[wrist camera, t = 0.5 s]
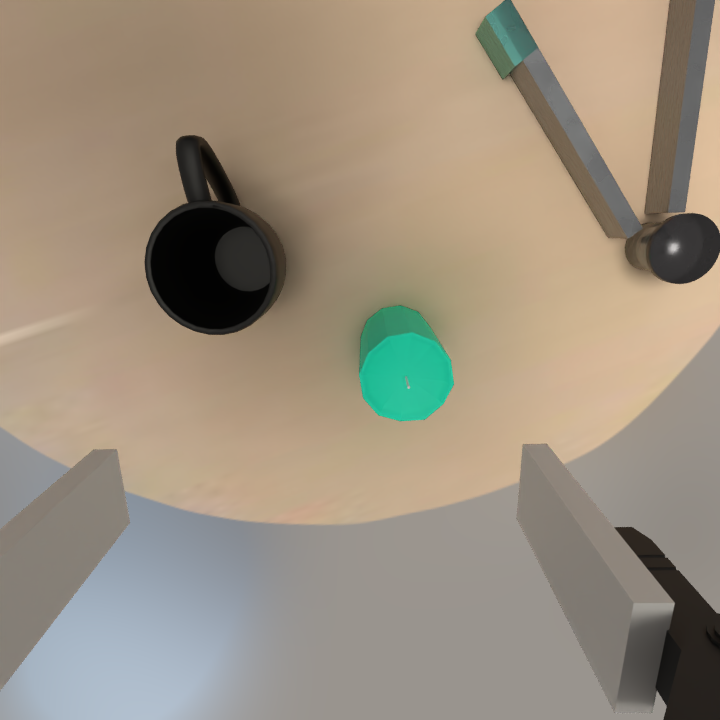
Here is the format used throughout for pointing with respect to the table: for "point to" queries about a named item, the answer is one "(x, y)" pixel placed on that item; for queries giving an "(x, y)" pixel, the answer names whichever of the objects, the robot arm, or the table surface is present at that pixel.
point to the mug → (212, 251)
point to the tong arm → (556, 117)
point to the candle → (403, 365)
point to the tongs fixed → (677, 155)
